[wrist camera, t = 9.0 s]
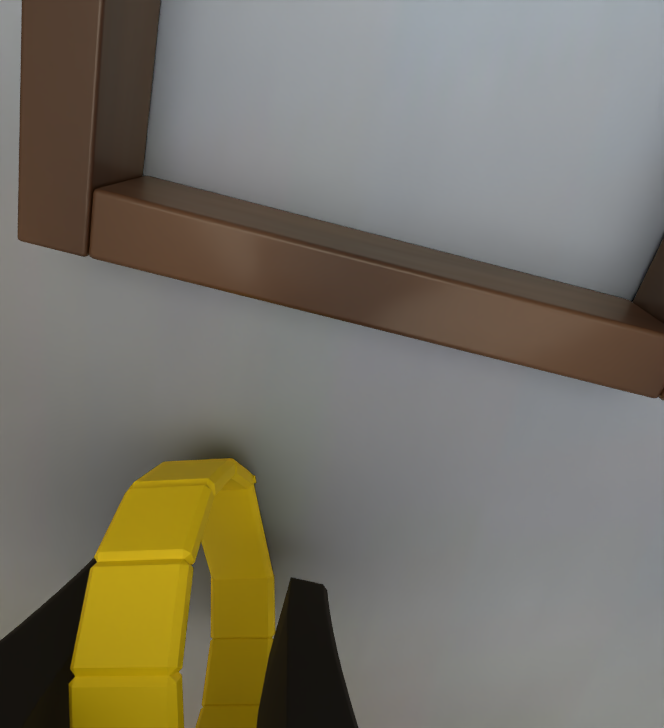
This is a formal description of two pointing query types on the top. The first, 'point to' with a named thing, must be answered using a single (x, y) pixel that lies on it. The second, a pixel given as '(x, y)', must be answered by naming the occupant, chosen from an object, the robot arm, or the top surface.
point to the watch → (175, 602)
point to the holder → (279, 223)
